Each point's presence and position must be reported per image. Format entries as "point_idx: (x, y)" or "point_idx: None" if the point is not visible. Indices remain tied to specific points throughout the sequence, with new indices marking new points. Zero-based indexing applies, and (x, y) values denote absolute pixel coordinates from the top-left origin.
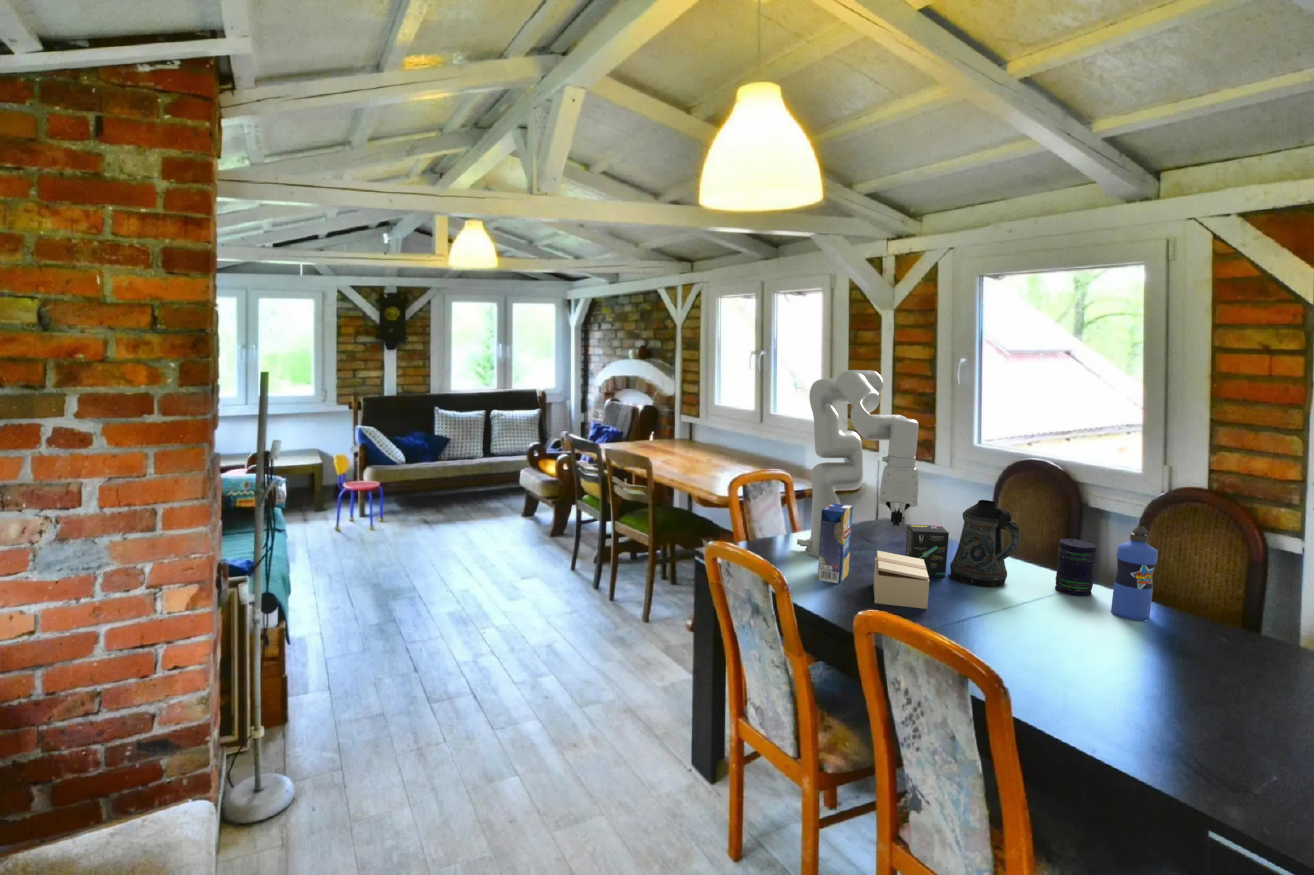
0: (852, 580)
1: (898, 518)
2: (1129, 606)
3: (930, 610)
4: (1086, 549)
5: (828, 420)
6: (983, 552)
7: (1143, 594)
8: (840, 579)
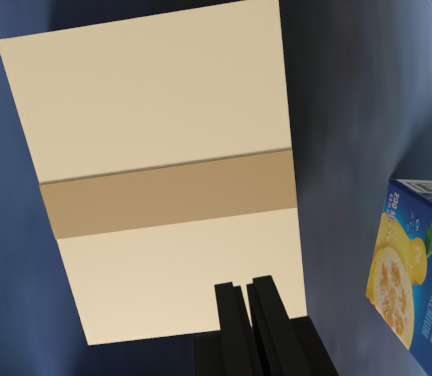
0: (347, 237)
1: (235, 328)
2: None
3: (32, 32)
4: None
5: None
6: None
7: None
8: (395, 189)
